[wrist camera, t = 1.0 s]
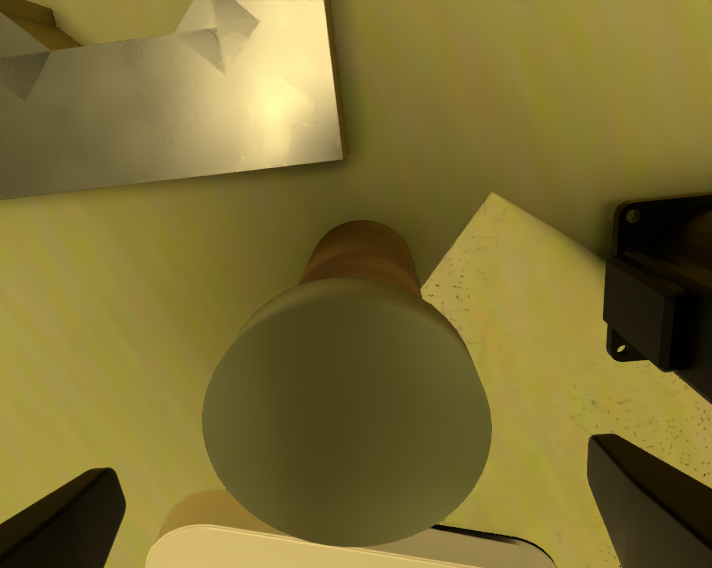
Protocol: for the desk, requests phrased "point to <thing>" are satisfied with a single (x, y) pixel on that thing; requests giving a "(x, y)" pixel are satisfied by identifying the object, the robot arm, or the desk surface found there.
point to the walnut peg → (349, 401)
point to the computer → (316, 561)
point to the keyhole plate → (167, 97)
